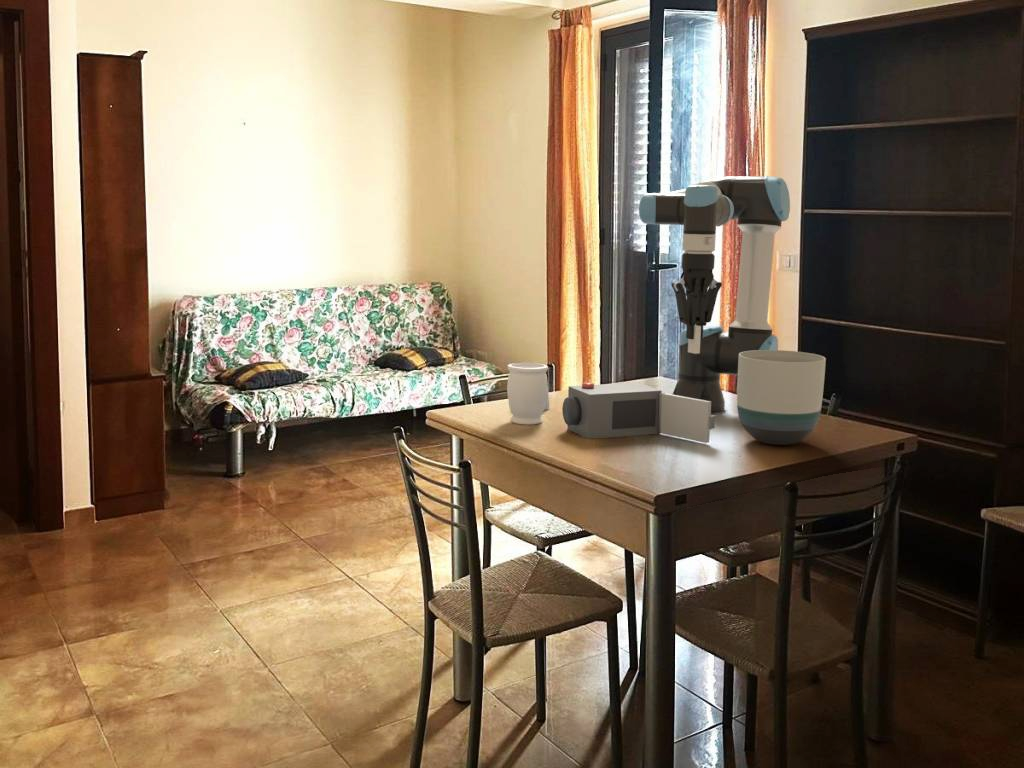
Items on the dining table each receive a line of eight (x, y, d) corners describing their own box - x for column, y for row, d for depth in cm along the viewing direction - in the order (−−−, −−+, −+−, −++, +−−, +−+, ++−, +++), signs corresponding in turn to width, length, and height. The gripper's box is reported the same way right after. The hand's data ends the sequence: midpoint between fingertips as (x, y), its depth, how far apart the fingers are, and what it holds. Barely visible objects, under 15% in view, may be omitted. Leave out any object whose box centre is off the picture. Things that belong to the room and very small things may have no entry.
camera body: (636, 424, 281) (638, 378, 279) (660, 433, 269) (662, 386, 267) (560, 429, 272) (561, 382, 270) (580, 439, 261) (582, 391, 259)
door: (656, 432, 269) (658, 393, 267) (663, 431, 270) (664, 392, 269) (708, 443, 257) (710, 402, 256) (714, 442, 259) (716, 401, 257)
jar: (498, 421, 281) (499, 364, 278) (524, 416, 288) (526, 360, 285) (528, 428, 273) (529, 369, 271) (554, 422, 281) (556, 365, 278)
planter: (717, 436, 268) (722, 351, 264) (786, 431, 275) (791, 348, 271) (765, 455, 249) (771, 363, 245) (837, 449, 257) (844, 360, 253)
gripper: (684, 253, 244) (680, 356, 248) (731, 253, 250) (725, 353, 254) (665, 251, 251) (661, 351, 255) (711, 251, 256) (706, 349, 261)
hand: (693, 352), depth 254 cm, fingers closed
